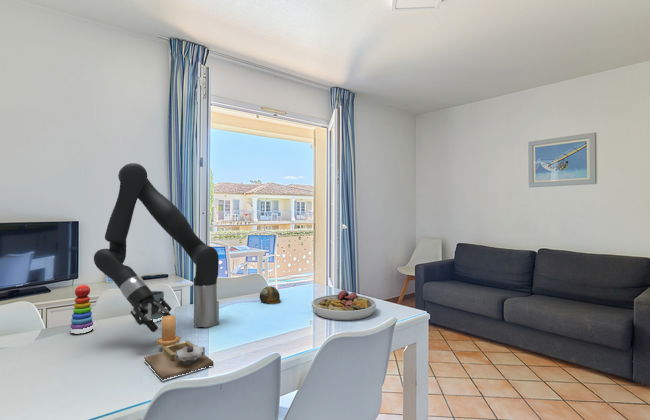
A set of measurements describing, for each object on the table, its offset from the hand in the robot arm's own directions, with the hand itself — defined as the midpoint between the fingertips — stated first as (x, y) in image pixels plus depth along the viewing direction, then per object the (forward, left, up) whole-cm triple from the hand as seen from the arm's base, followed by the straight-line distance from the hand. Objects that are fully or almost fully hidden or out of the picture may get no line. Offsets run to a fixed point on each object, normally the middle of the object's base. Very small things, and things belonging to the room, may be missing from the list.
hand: (164, 326), depth 124 cm
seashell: (-61, -28, -8) cm, 67 cm away
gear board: (+1, +16, -8) cm, 18 cm away
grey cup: (-6, -37, -8) cm, 38 cm away
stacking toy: (+19, -40, -8) cm, 45 cm away
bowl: (-77, +11, -8) cm, 78 cm away
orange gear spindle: (-1, +1, -8) cm, 8 cm away
